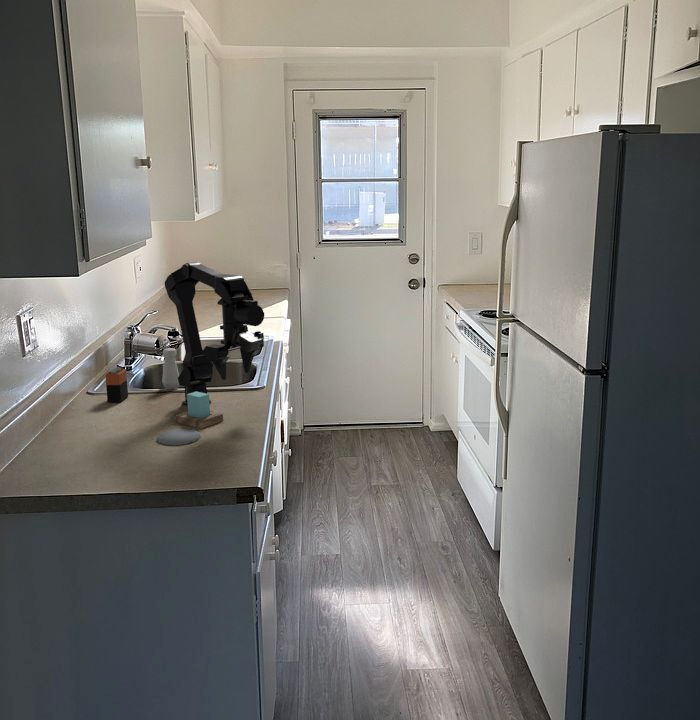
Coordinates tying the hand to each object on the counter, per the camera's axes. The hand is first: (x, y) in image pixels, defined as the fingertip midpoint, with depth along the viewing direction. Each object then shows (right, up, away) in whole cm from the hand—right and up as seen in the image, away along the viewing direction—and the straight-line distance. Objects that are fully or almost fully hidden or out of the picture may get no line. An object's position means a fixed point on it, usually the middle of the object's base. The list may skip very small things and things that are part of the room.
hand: (235, 376), depth 212 cm
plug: (-10, -13, -1) cm, 16 cm away
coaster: (-13, -16, -15) cm, 25 cm away
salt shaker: (-26, -5, +34) cm, 43 cm away
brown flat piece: (-10, -13, -1) cm, 16 cm away
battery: (-40, -8, +21) cm, 45 cm away
